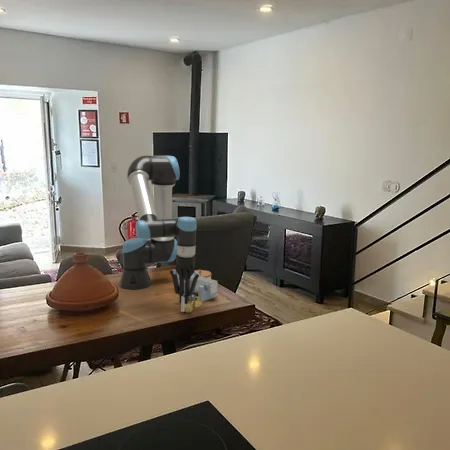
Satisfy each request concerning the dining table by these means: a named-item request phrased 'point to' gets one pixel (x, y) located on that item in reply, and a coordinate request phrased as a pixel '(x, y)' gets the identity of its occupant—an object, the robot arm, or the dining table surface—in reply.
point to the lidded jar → (204, 273)
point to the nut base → (192, 297)
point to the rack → (202, 293)
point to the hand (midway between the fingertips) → (183, 310)
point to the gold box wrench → (193, 304)
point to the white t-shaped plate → (204, 284)
